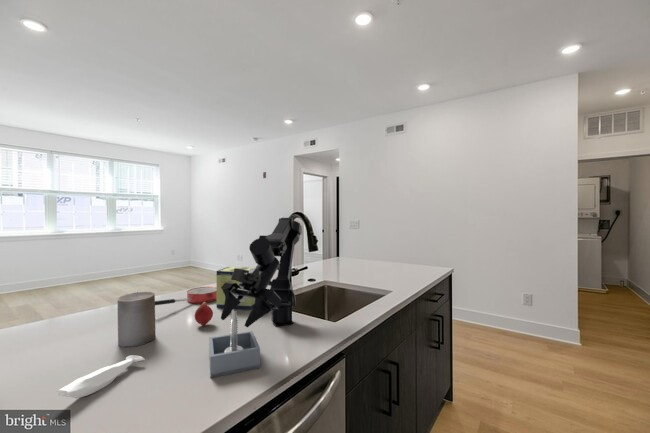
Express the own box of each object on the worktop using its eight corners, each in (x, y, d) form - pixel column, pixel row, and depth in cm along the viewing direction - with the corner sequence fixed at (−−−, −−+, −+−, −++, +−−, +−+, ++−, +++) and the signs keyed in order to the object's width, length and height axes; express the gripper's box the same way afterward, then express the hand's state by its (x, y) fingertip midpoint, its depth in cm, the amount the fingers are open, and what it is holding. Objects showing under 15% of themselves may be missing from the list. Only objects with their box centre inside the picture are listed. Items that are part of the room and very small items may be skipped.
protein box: (227, 300, 130) (227, 266, 130) (260, 302, 127) (260, 267, 127) (215, 308, 119) (215, 270, 119) (251, 310, 117) (251, 271, 117)
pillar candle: (150, 331, 95) (150, 286, 95) (159, 340, 88) (158, 291, 88) (114, 340, 88) (114, 291, 88) (121, 351, 81) (120, 298, 81)
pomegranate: (206, 329, 97) (206, 305, 97) (191, 328, 98) (190, 304, 98) (216, 323, 103) (216, 300, 103) (201, 321, 104) (201, 299, 104)
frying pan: (173, 320, 105) (173, 303, 105) (143, 317, 108) (143, 300, 108) (223, 296, 136) (223, 283, 136) (199, 294, 139) (199, 281, 139)
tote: (252, 348, 83) (252, 330, 83) (259, 367, 72) (259, 348, 72) (209, 355, 79) (209, 337, 79) (210, 377, 68) (210, 356, 68)
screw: (243, 361, 74) (223, 363, 73) (243, 352, 79) (224, 355, 77) (243, 310, 74) (223, 312, 73) (243, 305, 79) (225, 306, 77)
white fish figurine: (50, 407, 57) (50, 387, 57) (127, 364, 75) (127, 349, 75) (73, 411, 56) (73, 390, 56) (145, 366, 74) (146, 350, 74)
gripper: (226, 254, 85) (192, 301, 76) (274, 259, 75) (241, 314, 66) (246, 276, 92) (217, 321, 82) (292, 283, 82) (265, 336, 73)
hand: (233, 322), depth 76 cm, fingers open, 9 cm apart
